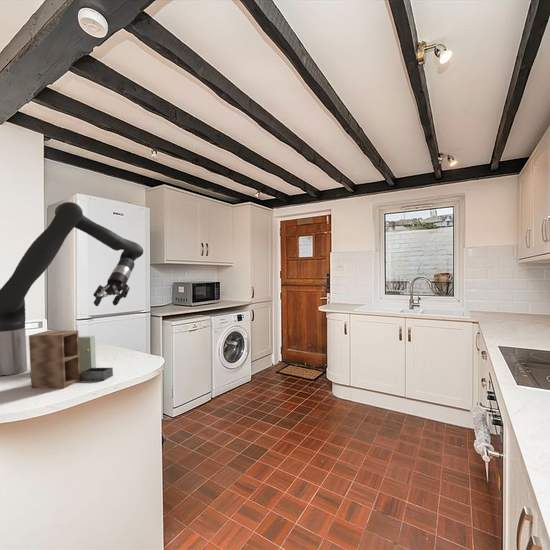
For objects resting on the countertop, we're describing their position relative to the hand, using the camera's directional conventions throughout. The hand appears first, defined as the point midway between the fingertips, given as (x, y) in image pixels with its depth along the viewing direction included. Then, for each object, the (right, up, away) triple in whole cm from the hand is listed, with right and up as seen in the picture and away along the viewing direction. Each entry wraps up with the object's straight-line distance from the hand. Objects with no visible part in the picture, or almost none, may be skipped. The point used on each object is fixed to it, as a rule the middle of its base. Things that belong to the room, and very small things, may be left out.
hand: (104, 304), depth 131 cm
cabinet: (-4, -26, -24) cm, 35 cm away
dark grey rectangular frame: (+8, -25, -19) cm, 32 cm away
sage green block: (-1, -25, -12) cm, 28 cm away
